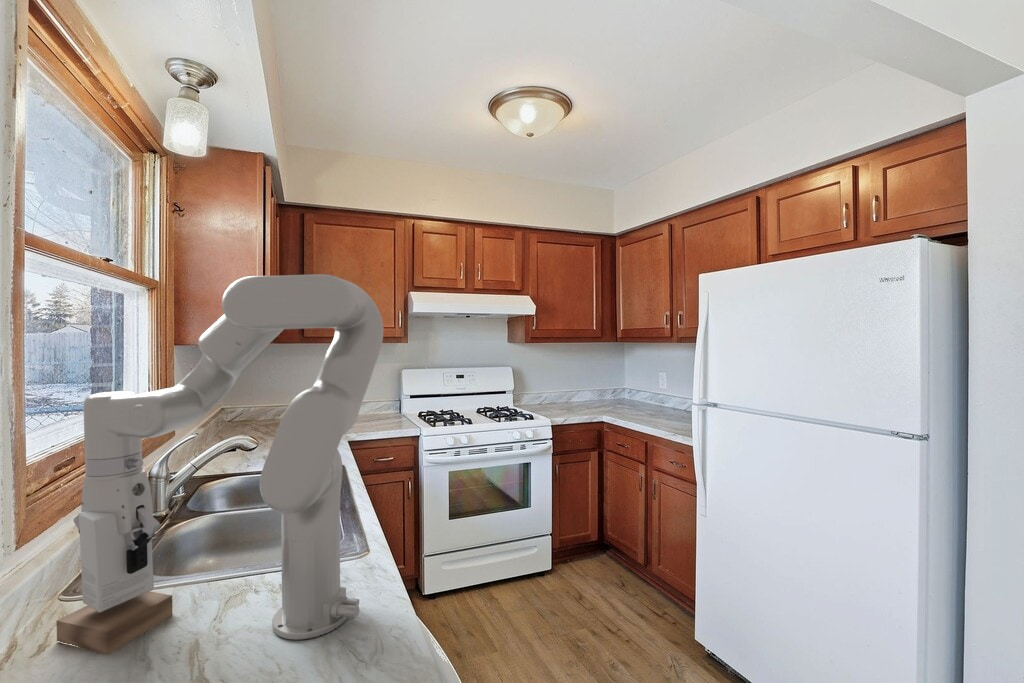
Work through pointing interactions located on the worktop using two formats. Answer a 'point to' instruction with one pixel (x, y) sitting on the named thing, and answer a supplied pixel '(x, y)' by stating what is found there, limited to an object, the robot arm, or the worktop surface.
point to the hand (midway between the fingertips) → (117, 567)
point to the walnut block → (114, 622)
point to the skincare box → (109, 563)
